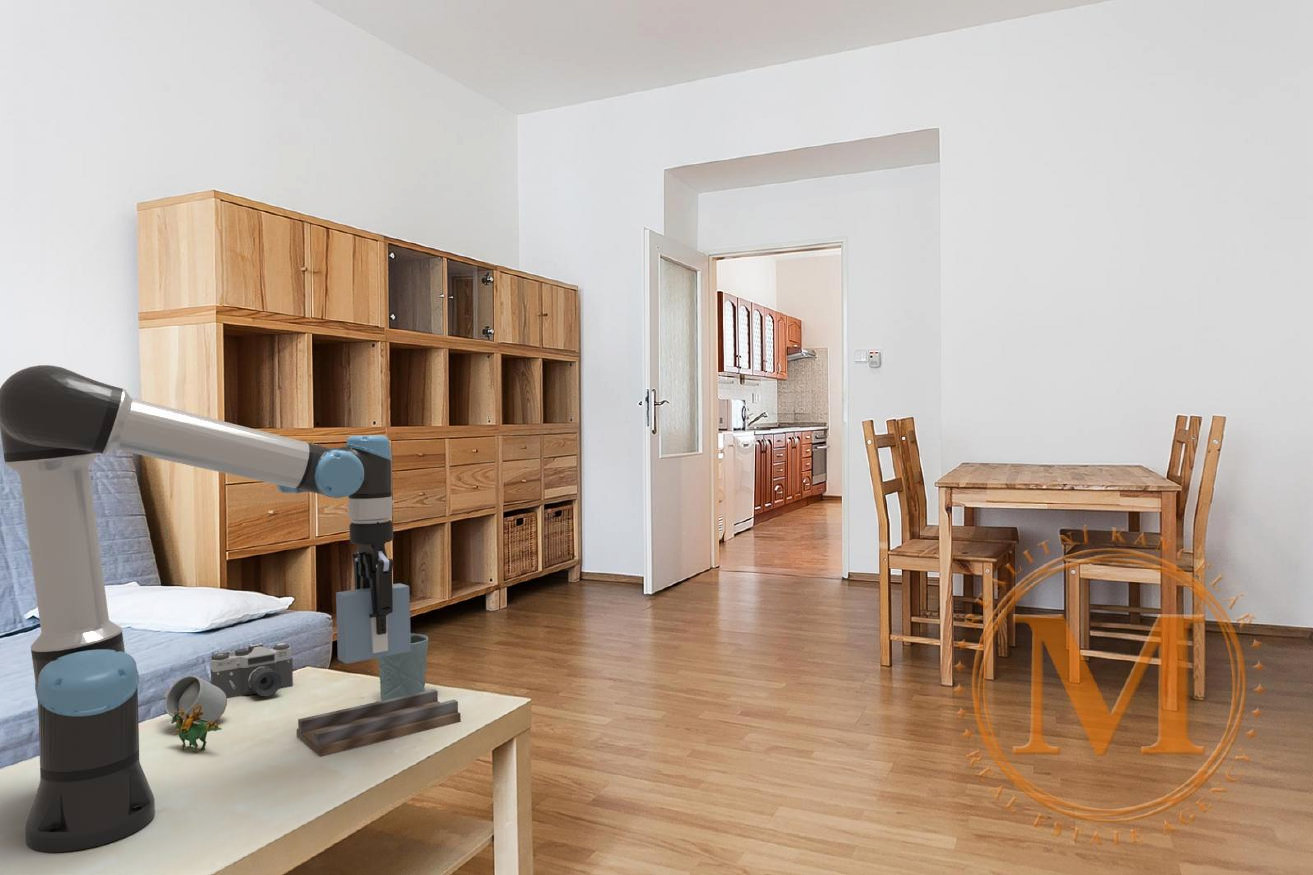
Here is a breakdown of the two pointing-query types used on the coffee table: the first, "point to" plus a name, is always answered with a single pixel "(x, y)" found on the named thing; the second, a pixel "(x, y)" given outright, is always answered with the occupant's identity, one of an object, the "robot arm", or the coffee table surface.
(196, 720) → the figurine
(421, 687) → the grey green cup
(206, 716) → the ceramic mug
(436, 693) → the door track
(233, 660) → the camera
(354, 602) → the door panel
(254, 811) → the coffee table surface
